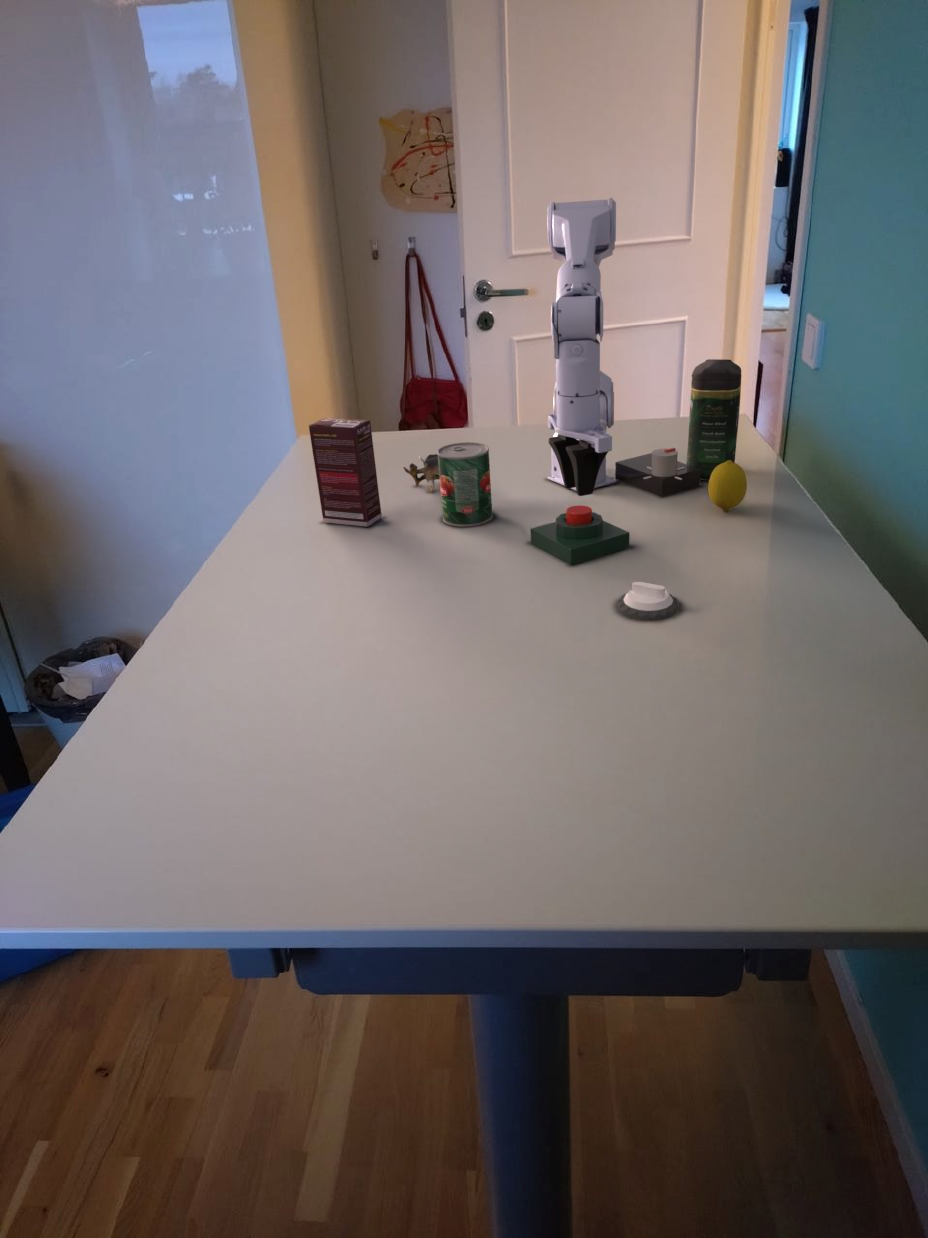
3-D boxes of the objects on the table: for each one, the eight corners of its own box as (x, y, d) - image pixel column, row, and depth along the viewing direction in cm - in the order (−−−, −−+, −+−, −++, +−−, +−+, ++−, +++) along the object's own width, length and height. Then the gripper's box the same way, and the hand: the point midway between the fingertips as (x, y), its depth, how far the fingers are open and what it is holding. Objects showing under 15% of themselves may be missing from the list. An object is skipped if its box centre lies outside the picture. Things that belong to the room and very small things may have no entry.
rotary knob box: (605, 481, 152) (605, 463, 150) (651, 469, 156) (652, 451, 154) (660, 503, 141) (661, 484, 139) (709, 489, 145) (710, 470, 143)
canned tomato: (502, 518, 139) (499, 449, 134) (458, 530, 136) (453, 460, 131) (475, 505, 145) (471, 439, 141) (433, 516, 142) (427, 449, 137)
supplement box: (383, 517, 143) (372, 419, 136) (368, 528, 140) (355, 427, 132) (337, 512, 147) (324, 416, 140) (321, 522, 143) (306, 424, 136)
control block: (530, 543, 130) (529, 517, 128) (586, 527, 134) (586, 501, 132) (571, 565, 122) (570, 537, 120) (629, 547, 126) (629, 520, 124)
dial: (662, 478, 142) (663, 455, 140) (646, 472, 145) (646, 449, 143) (682, 473, 143) (683, 450, 142) (665, 467, 147) (666, 445, 145)
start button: (561, 520, 127) (561, 509, 126) (581, 515, 128) (581, 503, 127) (576, 528, 124) (576, 516, 123) (597, 522, 125) (597, 510, 125)
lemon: (746, 518, 133) (750, 466, 129) (707, 517, 134) (710, 466, 130) (743, 505, 137) (747, 454, 134) (706, 505, 139) (709, 454, 135)
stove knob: (665, 625, 105) (666, 603, 103) (607, 613, 108) (608, 592, 107) (687, 600, 110) (688, 578, 109) (631, 590, 114) (631, 569, 112)
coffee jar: (733, 482, 147) (742, 367, 138) (684, 481, 149) (689, 368, 141) (735, 464, 155) (743, 355, 147) (688, 463, 157) (694, 355, 149)
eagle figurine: (403, 490, 151) (453, 482, 148) (401, 449, 152) (451, 440, 149) (421, 500, 158) (469, 493, 155) (419, 461, 159) (467, 453, 156)
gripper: (633, 397, 113) (631, 500, 119) (578, 378, 125) (579, 471, 131) (583, 406, 111) (584, 510, 117) (533, 385, 123) (536, 480, 129)
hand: (578, 490), depth 124 cm, fingers open, 3 cm apart
